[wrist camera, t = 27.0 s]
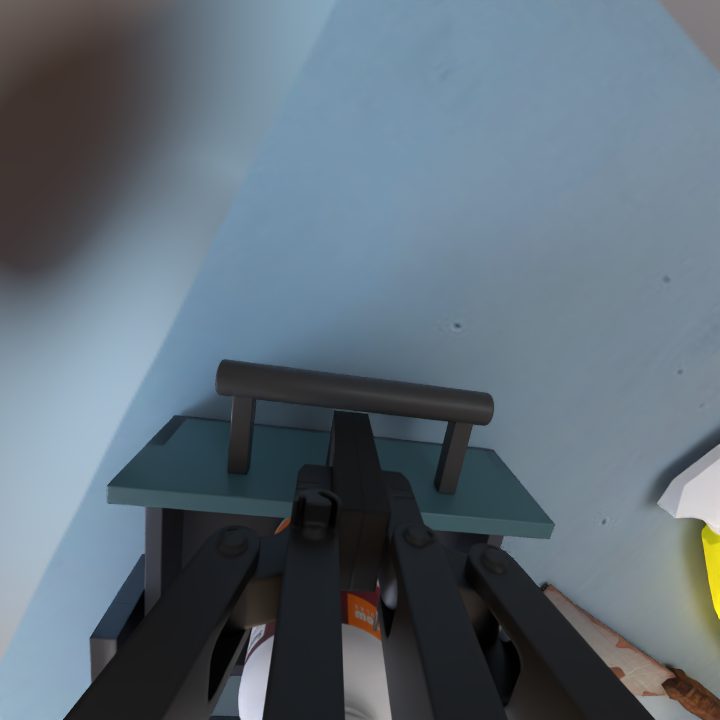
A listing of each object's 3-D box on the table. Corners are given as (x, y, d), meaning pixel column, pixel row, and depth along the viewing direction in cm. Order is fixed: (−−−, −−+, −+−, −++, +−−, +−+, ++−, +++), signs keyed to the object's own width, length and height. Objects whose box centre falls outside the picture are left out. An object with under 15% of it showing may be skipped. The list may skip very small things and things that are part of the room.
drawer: (177, 326, 18) (103, 361, 12) (515, 372, 20) (591, 421, 14) (168, 617, 23) (111, 744, 17) (443, 631, 25) (478, 748, 19)
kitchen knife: (502, 633, 25) (561, 593, 23) (494, 609, 26) (549, 569, 25) (693, 760, 29) (754, 733, 27) (677, 733, 30) (733, 705, 29)
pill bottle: (392, 511, 22) (452, 756, 11) (357, 593, 23) (380, 880, 12) (288, 484, 21) (242, 726, 10) (258, 572, 22) (191, 864, 12)
